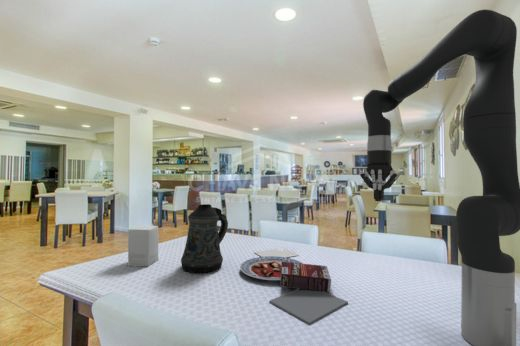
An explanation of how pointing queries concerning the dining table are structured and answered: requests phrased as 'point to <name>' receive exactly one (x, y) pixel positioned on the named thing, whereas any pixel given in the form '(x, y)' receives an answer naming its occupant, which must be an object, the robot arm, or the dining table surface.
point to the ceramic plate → (265, 267)
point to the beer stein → (204, 240)
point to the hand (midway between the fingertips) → (378, 201)
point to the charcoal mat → (308, 304)
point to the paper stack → (276, 253)
